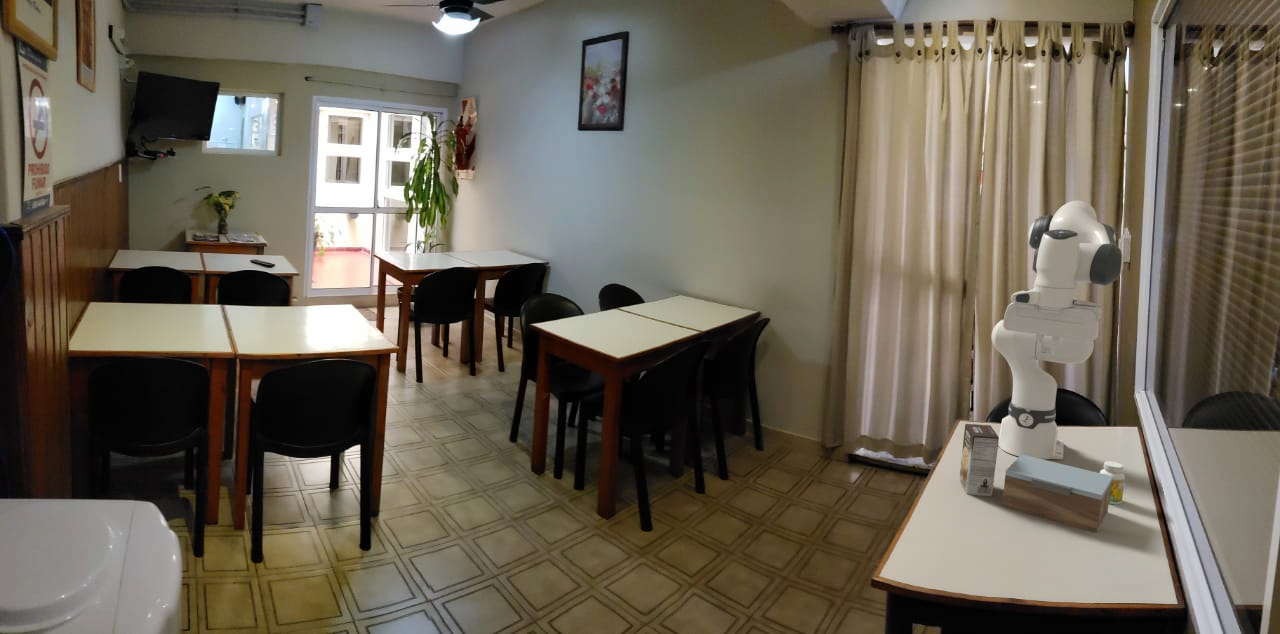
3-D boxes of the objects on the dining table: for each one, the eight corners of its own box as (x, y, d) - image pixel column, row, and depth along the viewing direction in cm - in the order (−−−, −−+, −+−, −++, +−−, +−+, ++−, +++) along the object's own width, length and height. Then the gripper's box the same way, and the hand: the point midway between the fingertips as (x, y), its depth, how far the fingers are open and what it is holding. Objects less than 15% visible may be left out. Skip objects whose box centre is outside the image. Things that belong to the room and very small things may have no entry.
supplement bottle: (1126, 502, 177) (1132, 466, 175) (1112, 506, 175) (1118, 470, 173) (1104, 493, 182) (1110, 458, 180) (1091, 497, 180) (1096, 461, 178)
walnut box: (1017, 487, 185) (1021, 458, 183) (1107, 511, 172) (1112, 481, 170) (1001, 505, 174) (1005, 474, 173) (1096, 532, 161) (1101, 500, 160)
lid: (1020, 460, 183) (1021, 454, 183) (1111, 483, 170) (1112, 476, 170) (1003, 478, 172) (1004, 471, 172) (1099, 504, 159) (1100, 496, 159)
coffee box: (958, 479, 189) (964, 422, 186) (983, 482, 188) (990, 424, 185) (966, 494, 180) (972, 434, 177) (993, 497, 179) (1000, 437, 176)
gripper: (1105, 301, 167) (1097, 358, 170) (1011, 291, 180) (1005, 344, 183) (1100, 304, 162) (1092, 363, 165) (1004, 294, 176) (998, 348, 178)
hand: (1046, 353), depth 174 cm, fingers closed
